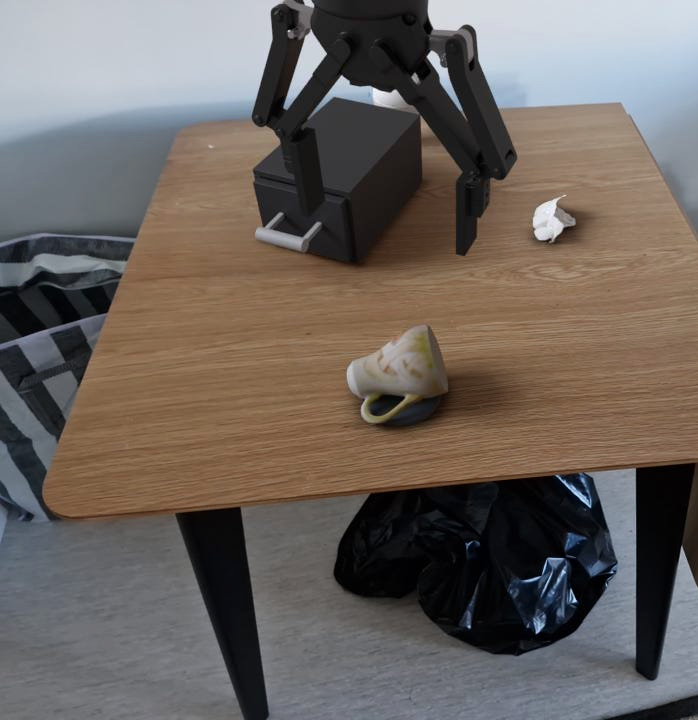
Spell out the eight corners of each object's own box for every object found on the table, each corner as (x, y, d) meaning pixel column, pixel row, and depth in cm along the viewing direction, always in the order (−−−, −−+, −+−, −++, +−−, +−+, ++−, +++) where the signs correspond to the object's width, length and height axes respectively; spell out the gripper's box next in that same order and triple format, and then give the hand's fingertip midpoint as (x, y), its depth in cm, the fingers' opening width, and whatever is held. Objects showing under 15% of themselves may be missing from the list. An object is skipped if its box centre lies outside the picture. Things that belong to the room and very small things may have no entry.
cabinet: (358, 263, 88) (349, 192, 81) (268, 240, 91) (252, 168, 83) (423, 182, 101) (420, 114, 94) (342, 163, 104) (333, 96, 96)
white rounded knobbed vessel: (437, 138, 109) (436, 59, 101) (407, 160, 105) (403, 79, 96) (396, 124, 112) (392, 46, 103) (366, 145, 107) (358, 65, 99)
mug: (340, 371, 75) (378, 293, 70) (425, 402, 78) (467, 329, 73) (334, 414, 68) (375, 330, 64) (427, 446, 71) (472, 368, 67)
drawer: (328, 287, 83) (318, 228, 77) (243, 264, 86) (227, 204, 80) (412, 184, 99) (409, 128, 93) (337, 166, 101) (330, 111, 95)
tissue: (518, 233, 93) (520, 208, 90) (548, 204, 98) (550, 179, 95) (556, 248, 91) (560, 223, 88) (584, 217, 96) (588, 192, 93)
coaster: (421, 435, 70) (421, 431, 69) (347, 412, 72) (346, 408, 71) (452, 379, 75) (452, 375, 75) (382, 358, 77) (382, 354, 76)
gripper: (582, -58, 43) (548, 235, 58) (222, -109, 48) (277, 171, 64) (546, -17, 38) (519, 292, 53) (149, -79, 44) (228, 216, 59)
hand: (387, 226), depth 58 cm, fingers open, 13 cm apart
